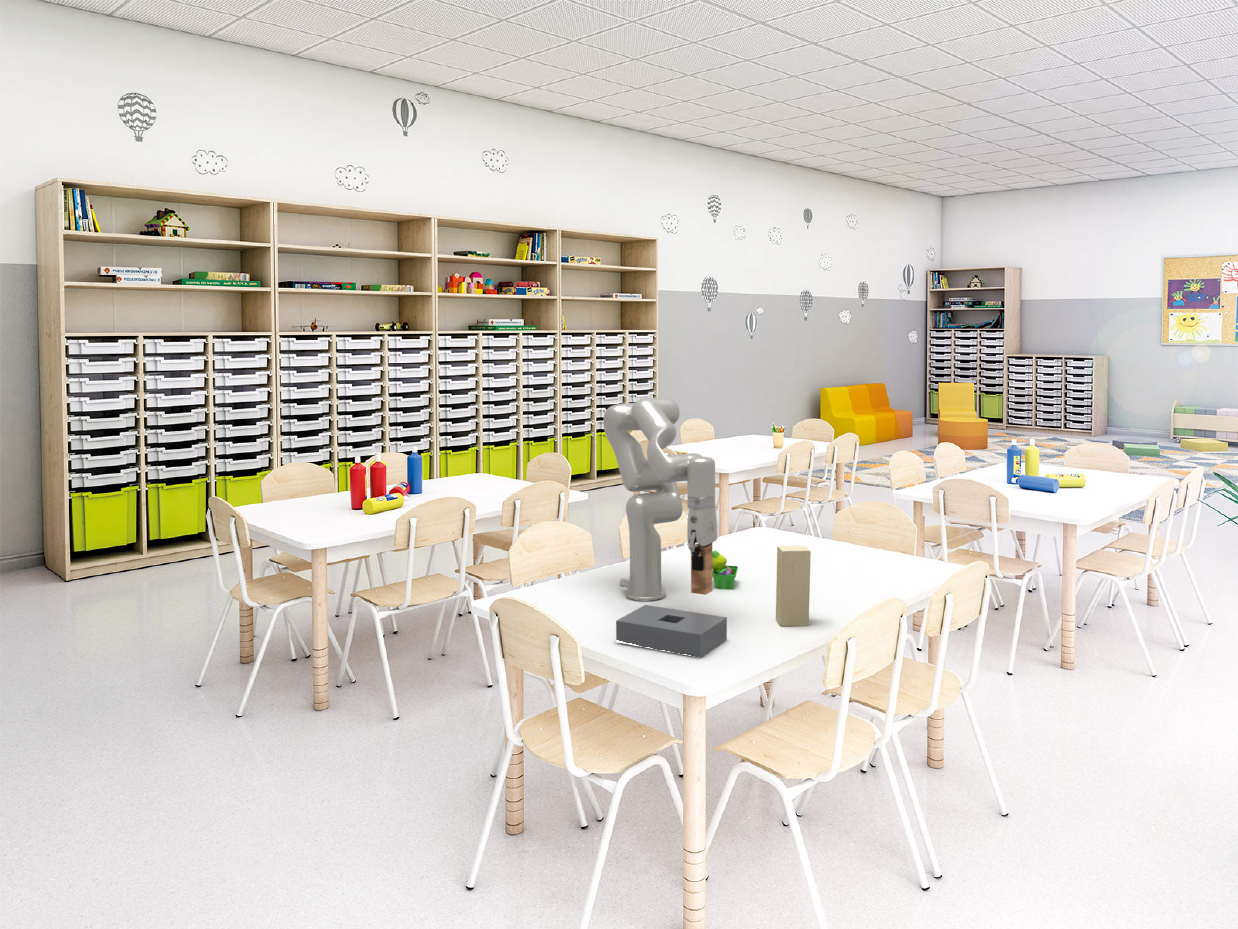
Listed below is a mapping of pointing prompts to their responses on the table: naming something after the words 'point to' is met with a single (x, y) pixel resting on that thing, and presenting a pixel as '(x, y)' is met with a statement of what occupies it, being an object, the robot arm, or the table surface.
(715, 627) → the grey block with hole
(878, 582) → the table surface
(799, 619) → the tall beige block
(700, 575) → the wooden block
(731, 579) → the fruit basket
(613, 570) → the table surface
